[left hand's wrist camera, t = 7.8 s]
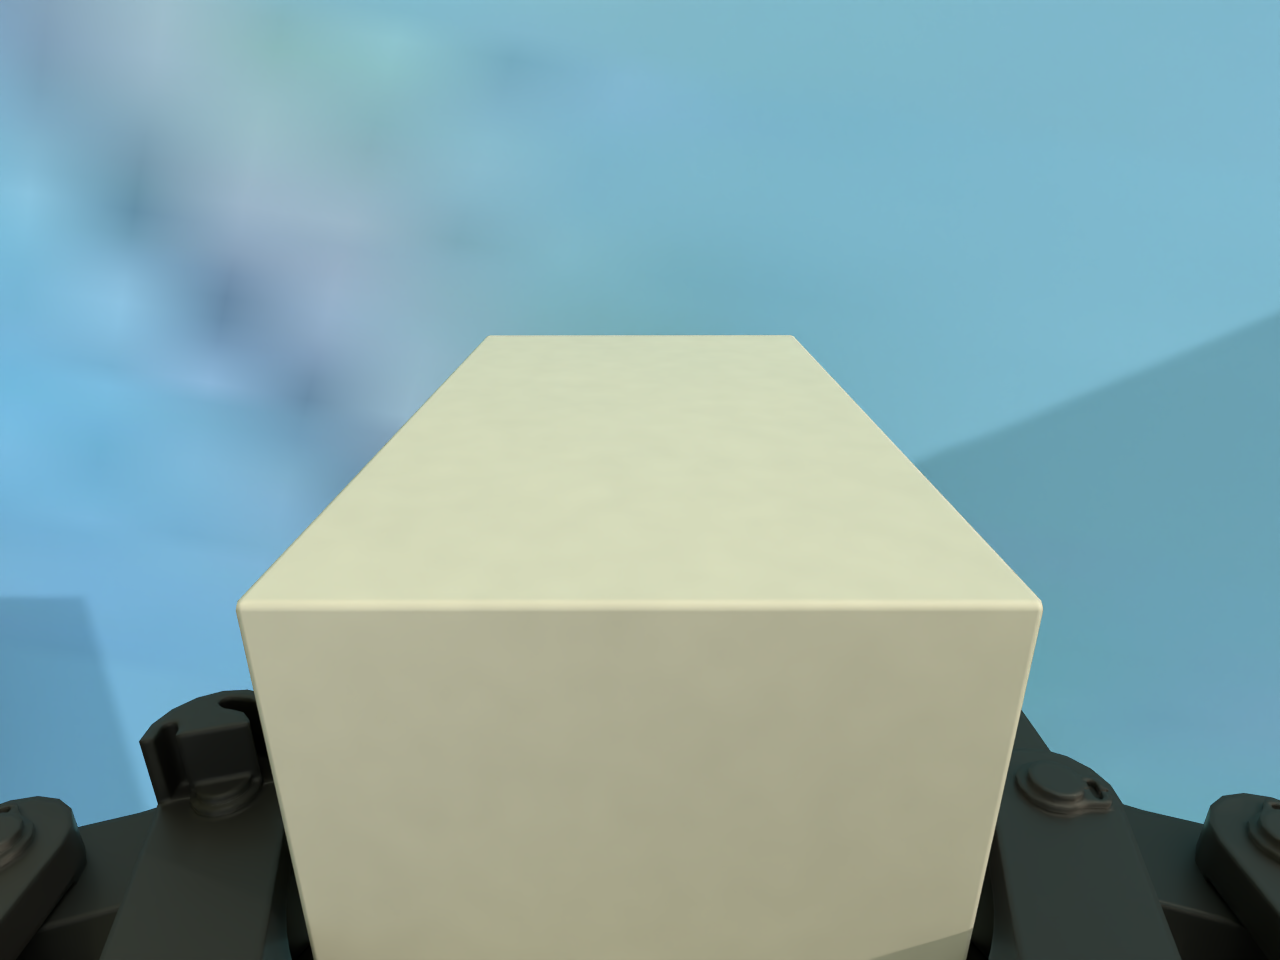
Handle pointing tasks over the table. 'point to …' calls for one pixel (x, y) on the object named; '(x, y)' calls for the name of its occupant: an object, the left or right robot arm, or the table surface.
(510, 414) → the bar
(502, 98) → the table surface
